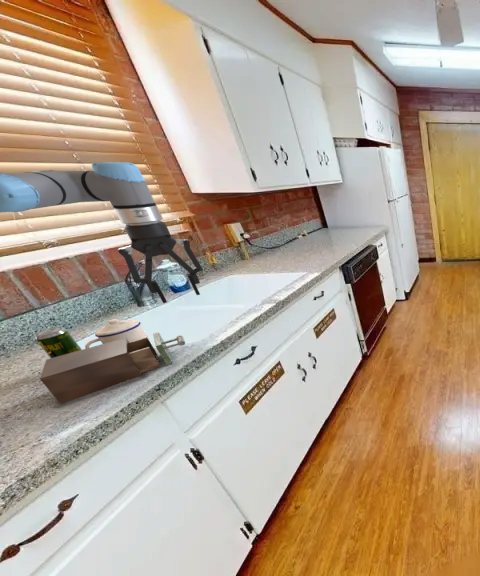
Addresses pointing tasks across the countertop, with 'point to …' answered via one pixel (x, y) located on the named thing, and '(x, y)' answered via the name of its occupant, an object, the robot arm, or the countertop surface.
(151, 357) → the drawer
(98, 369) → the cabinet
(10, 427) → the countertop surface
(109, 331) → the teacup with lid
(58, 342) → the green soda can
